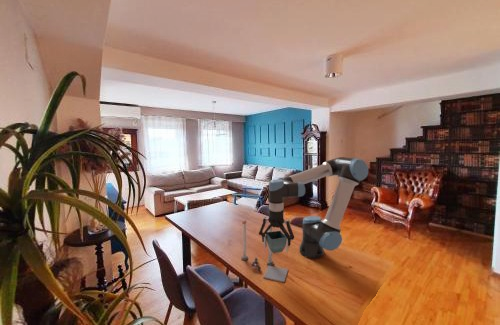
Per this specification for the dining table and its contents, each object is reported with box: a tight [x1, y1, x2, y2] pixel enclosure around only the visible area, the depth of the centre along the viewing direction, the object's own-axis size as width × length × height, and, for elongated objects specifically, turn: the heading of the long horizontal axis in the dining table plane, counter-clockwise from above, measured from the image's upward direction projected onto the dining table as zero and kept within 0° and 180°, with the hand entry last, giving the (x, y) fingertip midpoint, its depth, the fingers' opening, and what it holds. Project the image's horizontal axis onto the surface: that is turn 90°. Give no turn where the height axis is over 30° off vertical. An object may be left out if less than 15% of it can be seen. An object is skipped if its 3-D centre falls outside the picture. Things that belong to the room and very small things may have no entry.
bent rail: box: [250, 257, 262, 272], centre depth 123 cm, size 8×5×3 cm, turn 160°
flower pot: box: [265, 230, 287, 254], centre depth 114 cm, size 9×9×9 cm
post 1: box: [240, 219, 249, 261], centre depth 130 cm, size 4×4×24 cm
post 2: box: [266, 222, 274, 266], centre depth 124 cm, size 4×4×24 cm
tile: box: [263, 265, 289, 283], centre depth 116 cm, size 11×11×1 cm
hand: (276, 249), depth 114 cm, fingers closed on flower pot, 11 cm apart
